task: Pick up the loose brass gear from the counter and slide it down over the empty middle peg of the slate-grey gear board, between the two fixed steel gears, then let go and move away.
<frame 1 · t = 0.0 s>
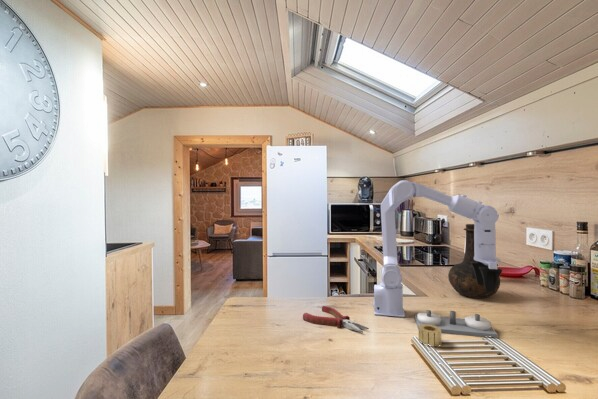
hand: (485, 287, 94), 10 cm above the worktop, tool pointing down, fingers open, 7 cm apart
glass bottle: (473, 295, 119), on the worktop
gear board: (452, 327, 89), on the worktop
brass gear: (429, 342, 79), on the worktop
pliers: (331, 325, 92), on the worktop
champagne flute: (472, 281, 141), on the worktop
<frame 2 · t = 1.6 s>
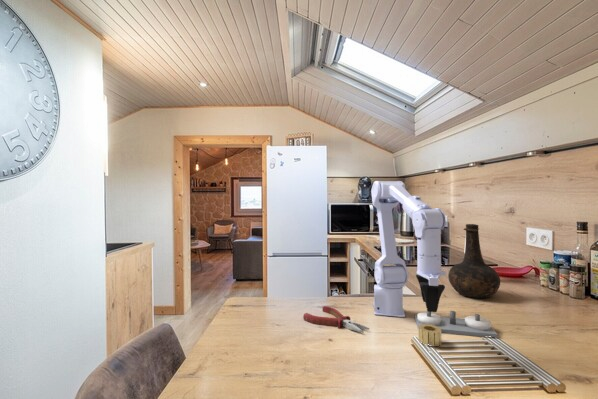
hand: (429, 306, 79), 9 cm above the worktop, tool pointing down, fingers open, 7 cm apart
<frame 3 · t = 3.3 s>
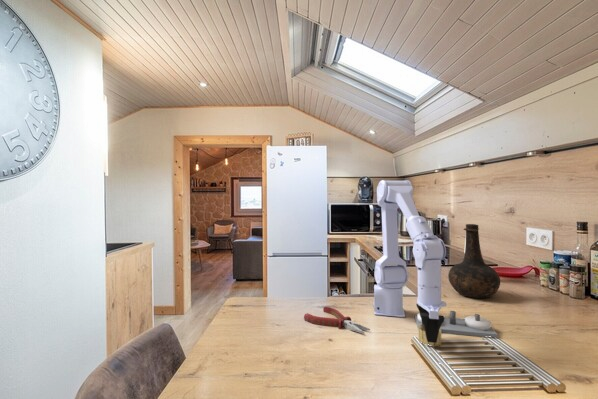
hand: (429, 336, 79), 1 cm above the worktop, tool pointing down, fingers closed on brass gear, 5 cm apart
brass gear: (429, 342, 79), on the worktop, touching gripper
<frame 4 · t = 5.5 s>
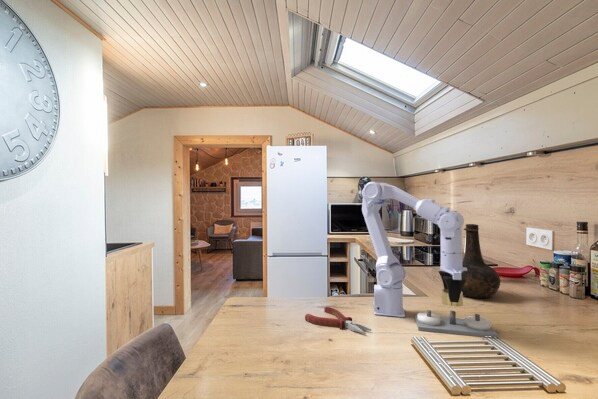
hand: (451, 298, 88), 8 cm above the worktop, tool pointing down, fingers closed on brass gear, 5 cm apart
brass gear: (452, 303, 88), point 7 cm above the worktop, touching gripper
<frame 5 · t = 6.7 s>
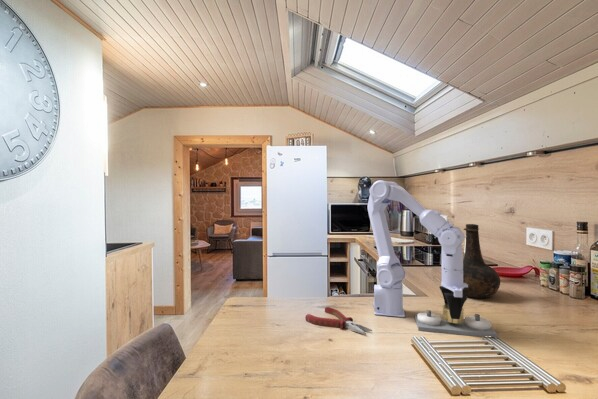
hand: (452, 314, 89), 4 cm above the worktop, tool pointing down, fingers closed on brass gear, 5 cm apart
brass gear: (452, 319, 89), point 2 cm above the worktop, touching gripper
when the fingers open (3 cm above the worktop, at t = 7.7 s): brass gear stays where it is, resting on gear board.
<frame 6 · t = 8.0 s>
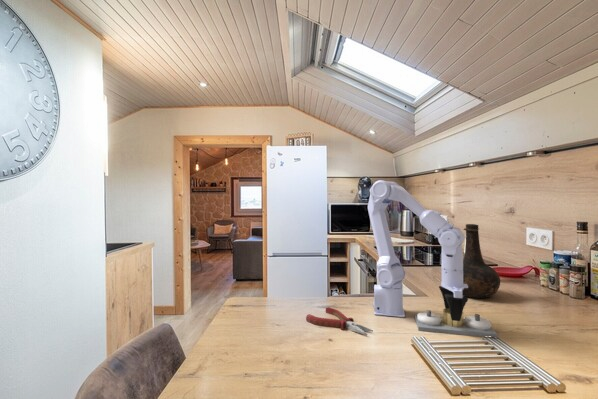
hand: (452, 315, 89), 3 cm above the worktop, tool pointing down, fingers open, 7 cm apart
brass gear: (452, 323, 89), point 1 cm above the worktop, touching gear board
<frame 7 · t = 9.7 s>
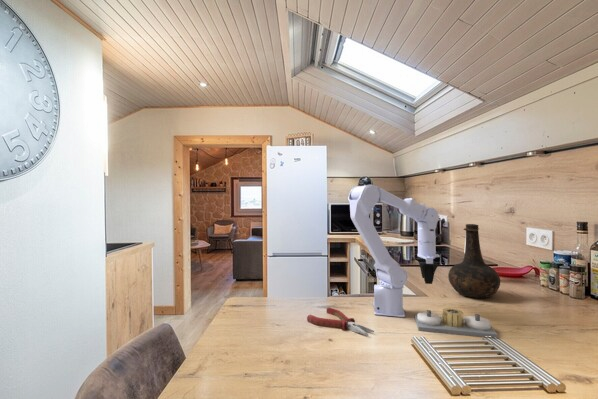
hand: (427, 280, 105), 9 cm above the worktop, tool pointing down, fingers open, 7 cm apart
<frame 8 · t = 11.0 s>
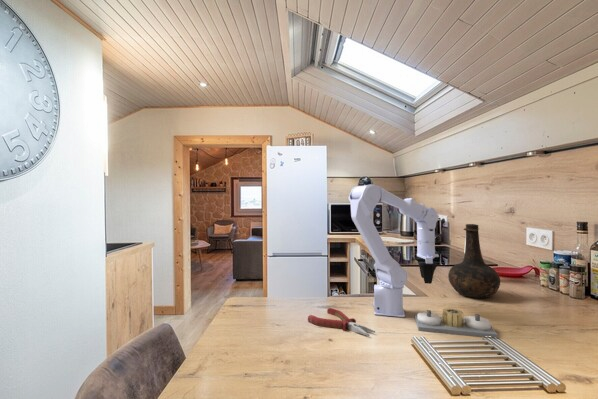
hand: (426, 280, 105), 9 cm above the worktop, tool pointing down, fingers open, 7 cm apart
at the end: brass gear 0.1 cm off-centre on the gear board, point 1.0 cm above the gear board's base; the gripper is holding nothing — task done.
